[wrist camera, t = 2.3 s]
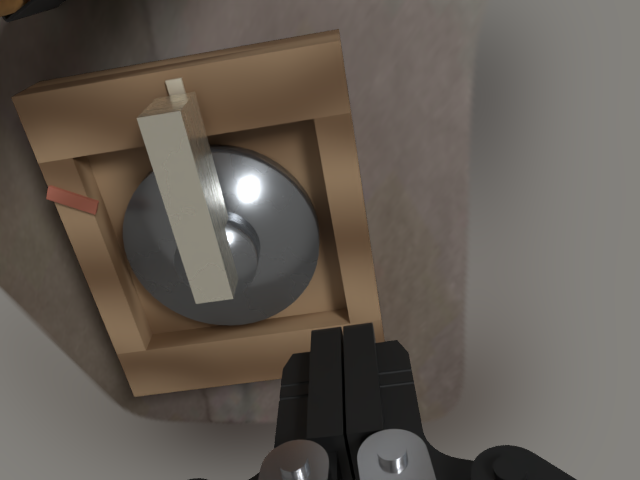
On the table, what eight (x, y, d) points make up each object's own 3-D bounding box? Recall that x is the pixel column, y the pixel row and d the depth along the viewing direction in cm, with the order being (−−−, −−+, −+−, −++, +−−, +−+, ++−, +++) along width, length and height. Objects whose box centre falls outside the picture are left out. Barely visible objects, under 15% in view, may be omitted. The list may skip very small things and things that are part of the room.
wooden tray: (35, 82, 30) (4, 99, 27) (338, 29, 28) (340, 41, 26) (144, 364, 38) (129, 399, 35) (383, 333, 37) (388, 367, 34)
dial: (333, 300, 34) (333, 355, 29) (161, 323, 35) (137, 379, 30) (289, 66, 28) (281, 94, 23) (82, 102, 29) (39, 134, 24)
